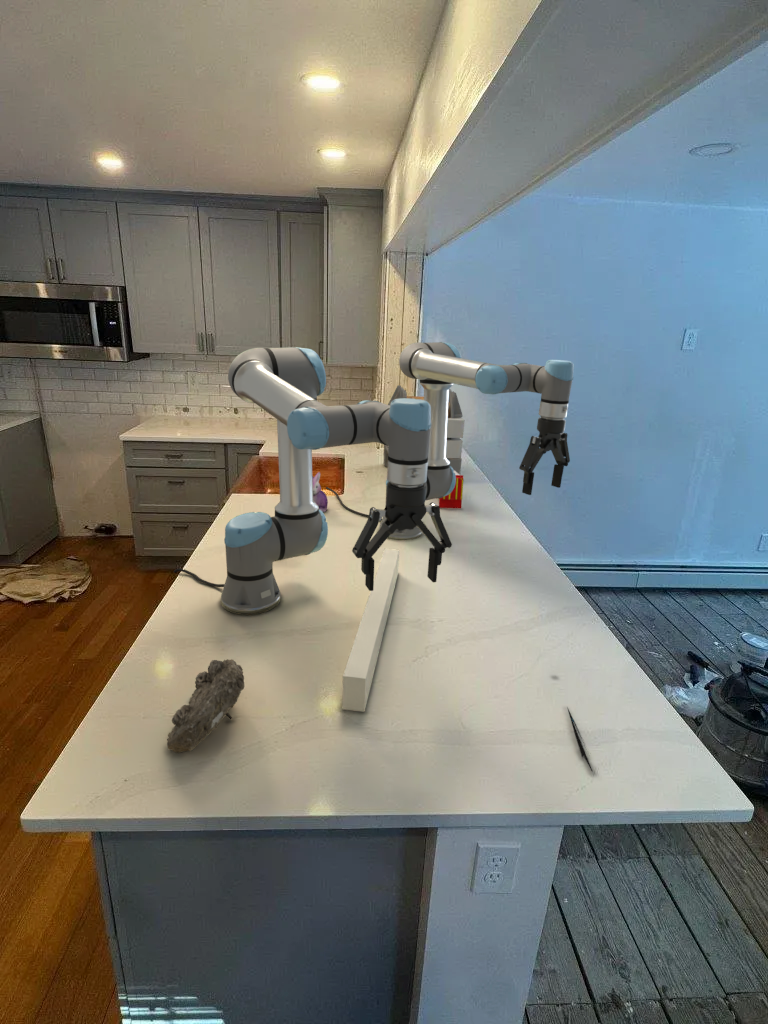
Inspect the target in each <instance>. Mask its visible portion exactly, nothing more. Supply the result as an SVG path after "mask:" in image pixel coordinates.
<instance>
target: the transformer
mask: <svg viewBox="0 0 768 1024" xmlns="http://www.w3.org/2000/svg"><path fill="white" fill-rule="evenodd" d="M407 394H408V393H407V390H406V389H404V388H403V387H402V385H399V384H398V385H397V386H396V388H395V390H394V392H393V394H392V395H391V398H390V400H389V402H388V404H387V405H391V402H392V401H393V400H395V399H400V398H412V399H421V400H424V396H415V395H414V396H413V395H412V396H411V395H407ZM464 429H465V419H464V418H463V411H462V408H461V405H460V402H459V398H458V395H457V392H455V391H453V390H452V389H451V388H450V389H449V400H448V422H447V443H446V458H447V460H448V461H449V462H450V466H451V467H452V468H453V470H454V471H456V472H457V473H458V474H459V475H462V474H461V472H462V461H463V460H462V453H463V442H464V441H463V440H462V439H463V438H464V431H465V430H464ZM383 466H384V467H387V468H388V446H386V445H384V444H383Z"/></svg>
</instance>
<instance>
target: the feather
mask: <svg viewBox="0 0 768 1024" xmlns="http://www.w3.org/2000/svg"><path fill="white" fill-rule="evenodd" d="M554 677H557V676H556V675H554ZM566 708H567V711H568V715H569V718H570V722H571V726H572V729H573V732H574V736H575V739H576V742H577V745H578V749H579V753H580V755H581V758H584V759H585V761H586V763H587V765H588V767H589V768H590V770H591V772H593V768H592V766H591V763H590V761H589V758H588V756H587V753H588V755H589V754H590V750H589V748H588V747H586V743H585V741H582V740H583V737H582V734H581V732H580V730H579V728H578V726H577V724H576V722H575V719H574V718H573V716H572V713H571V712H570V708H568V706H566ZM583 744H584V745H583ZM584 747H586V750H587V749H588V750H587V753H586V751H585V749H584Z"/></svg>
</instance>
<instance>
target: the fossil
mask: <svg viewBox="0 0 768 1024" xmlns="http://www.w3.org/2000/svg"><path fill="white" fill-rule="evenodd" d="M243 670H244V669H243V667H242V665H240V664H237V662H236V661H235V660H234V659H232V658H231V659H227V658H226V659H224V660H223V661H222V660H217V659H212V660H211V661H210V663H209V665H208V666H207V671H201V672H199V673H198V674H197V675H196V676H195V680H194V684H195V685H194V687H195V689H194V690H193V693H192V694H191V697H190V698H189V700H188V704H184V705H182V706H181V707H180V709H177V710H176V711H175V713H174V715H173V716H172V718H171V723H172V724H173V727H172V730H171V731H170V732H168V734H167V738H166V741H167V742H166V745H167V749H168V750H169V751H173V752H174V753H176V754H178V753H182V752H188V751H189V752H192V751H193V750H195V748H196V747H197V746H199V744H200V743H201V742H203V741H204V740H205V739H206V738H207V737H208V736H209V735H210V734H211V733H212V732H214V730H215V729H217V727H218V726H219V724H220V722H221V721H222V720H223V719H224V718H225V716H226V717H227V719H229V720H233V717H232V715H230V714H229V710H230V709H231V708H234V706H235V704H236V703H237V702H238V699H239V697H240V695H241V693H242V691H243V690H245V689H244V688H245V675H244V671H243Z"/></svg>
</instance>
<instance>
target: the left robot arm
mask: <svg viewBox="0 0 768 1024" xmlns="http://www.w3.org/2000/svg"><path fill="white" fill-rule="evenodd" d="M227 380H228V384H229V387H230V389H231V390H232V392H233V393H234V394H235V396H237V397H238V398H239V399H241V400H242V401H244V402H246V403H247V404H248V403H249V404H254V405H256V406H258V407H259V408H261V409H262V410H263V411H265V412H266V413H268V414H269V415H271V417H273V418H275V420H276V430H277V454H278V455H277V457H278V478H279V479H278V481H279V482H278V483H279V502H278V503H277V504H276V505H275V506H274V516H271V515H270V514H269V513H266V512H264V511H257V512H255V511H252V512H251V511H250V512H245V513H241V514H239V515H236V516H234V517H232V518H231V519H230V520H229V521H228V522H227V523H226V525H225V527H224V540H223V541H224V546H225V561H226V578H225V581H224V583H213V582H210V581H207V580H205V579H202V578H201V577H200V576H199V575H197V574H196V573H193V572H191V571H190V570H187V569H184V568H181V567H180V568H179V567H178V568H176V569H175V570H173V573H175V574H177V573H178V572H183V573H185V574H186V575H188V576H189V575H190V576H191V577H193V578H194V579H195V580H196V581H198V582H200V583H202V584H204V585H207V586H211V587H214V588H223V589H222V592H221V594H220V603H221V606H222V607H223V609H224V610H226V611H227V612H230V613H232V614H237V615H243V616H246V615H257V614H262V613H265V612H269V611H270V610H274V608H276V607H277V606H278V605H279V604H280V602H281V589H280V587H279V585H278V582H277V580H276V577H275V574H274V572H273V570H274V567H273V566H274V565H273V564H274V563H275V562H278V561H283V560H287V559H288V560H289V559H292V558H297V557H301V556H308V555H310V554H313V553H316V552H319V551H321V550H322V548H324V547H325V544H326V543H327V539H328V536H329V535H328V533H329V527H328V526H329V525H328V522H327V521H326V520H327V517H326V515H325V512H322V511H321V510H319V506H318V505H317V504H316V503H315V502H314V501H313V483H312V475H313V451H316V450H321V449H326V448H334V447H342V446H353V445H362V444H369V443H378V444H381V445H383V446H384V445H386V446H388V467H387V470H386V480H388V481H389V482H388V483H387V491H386V490H385V504H386V507H384V508H376V507H374V506H371V507H370V508H369V513H368V515H369V517H367V520H366V522H365V524H364V526H363V528H362V530H361V532H360V534H359V536H358V538H357V540H356V542H355V544H354V546H353V547H352V550H351V551H352V553H353V555H354V556H355V557H356V558H357V559H361V565H360V567H361V568H360V569H361V572H362V573H363V575H365V581H364V584H365V587H366V588H367V589H368V591H369V592H370V591H373V585H374V579H375V559H374V558H373V556H374V555H375V554H376V552H377V551H378V550H379V549H380V548H381V547H382V545H384V543H385V542H386V541H387V539H389V538H388V537H389V535H390V534H393V533H394V531H395V530H396V529H397V530H398V531H401V530H405V529H409V530H411V529H414V528H415V527H416V526H417V527H418V528H419V530H420V531H421V532H422V535H423V536H424V537H425V538H426V540H428V541H429V543H430V544H431V546H433V547H429V551H428V565H427V578H428V579H429V580H430V581H431V582H432V583H437V577H438V568H439V567H438V566H441V565H442V562H443V561H442V559H443V554H444V553H445V552H446V549H447V548H448V549H451V547H452V546H453V542H452V541H451V538H450V536H449V533H448V532H447V529H446V527H445V524H444V522H443V520H442V517H441V508H440V507H439V504H437V503H435V502H434V501H431V502H430V503H429V504H427V505H426V504H425V503H426V501H425V499H426V485H425V484H424V483H425V482H426V481H427V468H428V453H429V440H430V428H431V406H430V404H429V403H428V402H427V401H425V400H421V399H412V398H400V399H395V400H393V401H392V402H391V405H388V404H387V403H386V404H385V403H383V402H380V401H378V400H369V399H367V400H361V401H359V402H357V403H356V404H341V405H340V404H339V405H325V404H324V403H322V402H320V401H319V400H318V397H319V396H320V395H323V393H324V392H325V388H326V385H327V375H326V370H325V366H324V363H323V360H322V359H321V357H320V355H319V354H318V353H317V352H316V351H315V350H314V349H311V348H306V347H298V346H295V347H294V346H293V347H253V348H248V349H247V350H244V351H242V352H241V353H239V354H238V355H236V357H234V358H233V360H232V361H231V363H230V365H229V368H228V372H227ZM426 514H427V515H429V516H430V519H431V521H432V523H433V526H434V528H435V530H436V533H437V535H438V537H439V539H440V540H439V539H437V537H436V536H435V535H434V534H433V533H432V531H431V530H430V529H429V528H428V526H427V525H426V524H425V522H424V521H423V518H424V516H426ZM383 516H385V517H386V518H387V519H386V520H385V521H384V523H383V524H382V527H381V528H380V529H379V528H378V525H379V524H380V521H381V519H383ZM381 522H382V521H381ZM390 524H391V526H390ZM389 526H390V527H389ZM377 528H378V531H376V530H377ZM375 531H376V533H375ZM374 533H375V534H374ZM183 569H184V570H183Z"/></svg>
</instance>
